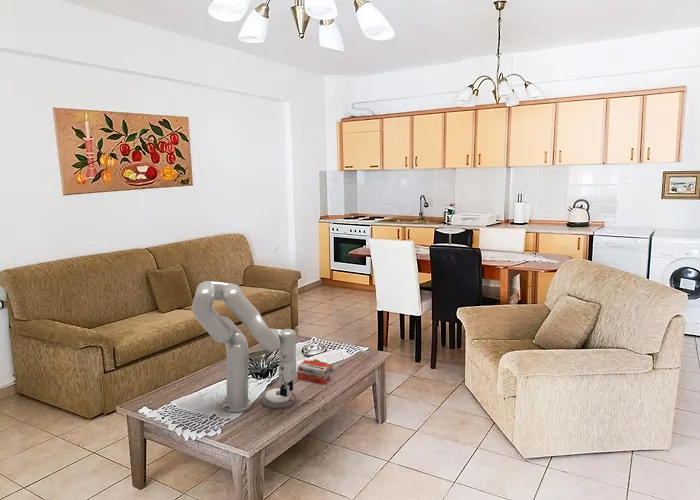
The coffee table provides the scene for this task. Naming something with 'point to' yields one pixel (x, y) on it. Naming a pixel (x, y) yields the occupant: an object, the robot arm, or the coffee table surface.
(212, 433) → the coffee table surface
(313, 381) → the medicine box
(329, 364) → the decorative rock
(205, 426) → the coffee table surface
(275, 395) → the dial disc
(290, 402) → the dial base
